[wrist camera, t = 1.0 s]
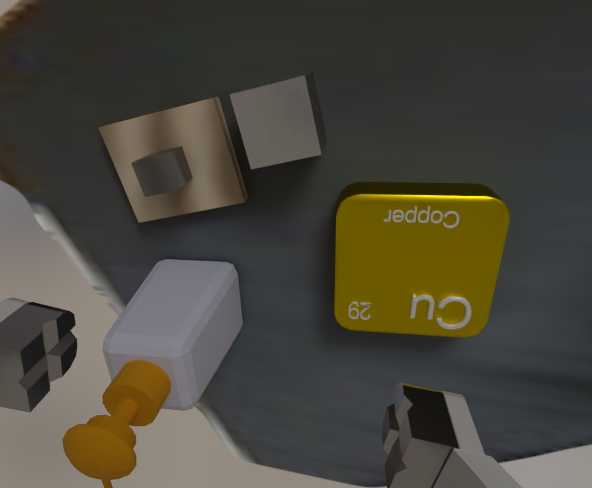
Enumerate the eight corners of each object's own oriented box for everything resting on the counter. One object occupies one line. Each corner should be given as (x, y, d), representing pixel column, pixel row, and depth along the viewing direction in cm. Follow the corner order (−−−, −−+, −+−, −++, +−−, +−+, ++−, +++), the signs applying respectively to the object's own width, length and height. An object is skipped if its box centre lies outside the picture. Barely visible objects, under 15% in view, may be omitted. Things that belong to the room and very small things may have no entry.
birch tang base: (218, 96, 37) (196, 102, 32) (248, 197, 41) (233, 217, 36) (107, 125, 39) (71, 135, 34) (145, 217, 43) (118, 238, 38)
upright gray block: (312, 72, 35) (304, 75, 29) (326, 140, 37) (321, 154, 32) (248, 88, 36) (229, 94, 31) (265, 153, 38) (251, 169, 33)
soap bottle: (176, 350, 51) (61, 538, 31) (157, 254, 45) (1, 410, 25) (248, 355, 50) (176, 556, 30) (239, 257, 44) (142, 425, 24)
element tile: (499, 182, 37) (518, 199, 33) (473, 315, 43) (485, 344, 39) (338, 180, 39) (335, 195, 35) (335, 307, 45) (333, 333, 41)
